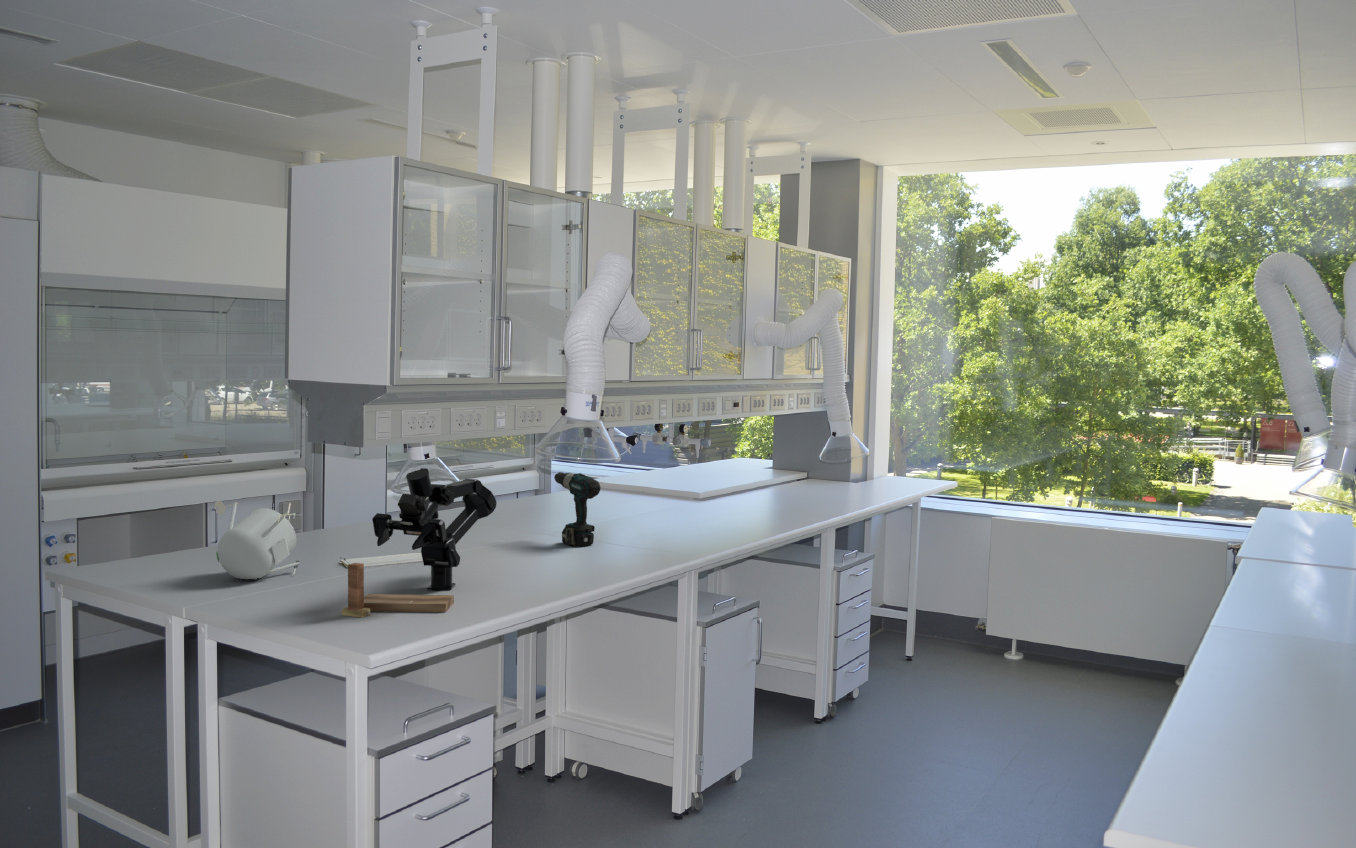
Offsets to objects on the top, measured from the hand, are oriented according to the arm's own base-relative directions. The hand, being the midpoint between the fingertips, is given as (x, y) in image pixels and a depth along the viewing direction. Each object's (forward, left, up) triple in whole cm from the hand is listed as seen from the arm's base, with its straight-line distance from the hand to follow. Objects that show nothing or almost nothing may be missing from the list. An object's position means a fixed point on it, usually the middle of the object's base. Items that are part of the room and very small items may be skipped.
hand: (395, 546), depth 238 cm
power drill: (-95, +36, -16) cm, 103 cm away
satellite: (-35, -48, -16) cm, 61 cm away
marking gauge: (+5, -8, -16) cm, 19 cm away
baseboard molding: (-60, -16, -17) cm, 64 cm away
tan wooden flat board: (-3, +2, -16) cm, 16 cm away
